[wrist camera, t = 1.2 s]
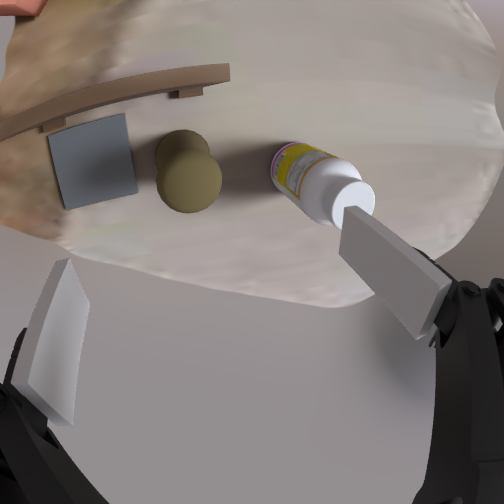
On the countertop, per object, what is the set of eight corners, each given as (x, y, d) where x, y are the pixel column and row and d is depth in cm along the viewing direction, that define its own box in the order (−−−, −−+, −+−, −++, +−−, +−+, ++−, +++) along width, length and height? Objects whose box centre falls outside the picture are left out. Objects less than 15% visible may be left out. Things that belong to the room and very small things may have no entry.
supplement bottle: (323, 178, 35) (387, 221, 25) (279, 201, 35) (331, 254, 25) (308, 132, 32) (377, 158, 21) (260, 154, 31) (311, 191, 21)
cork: (219, 141, 29) (245, 165, 20) (196, 189, 32) (211, 234, 23) (168, 121, 27) (169, 134, 18) (146, 172, 29) (138, 210, 20)
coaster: (50, 135, 23) (48, 136, 22) (125, 113, 25) (124, 113, 24) (68, 208, 28) (66, 210, 27) (138, 191, 30) (137, 193, 29)
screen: (41, 107, 21) (-24, 123, 10) (202, 68, 25) (228, 50, 14) (45, 132, 22) (-17, 161, 12) (204, 94, 26) (231, 94, 16)
